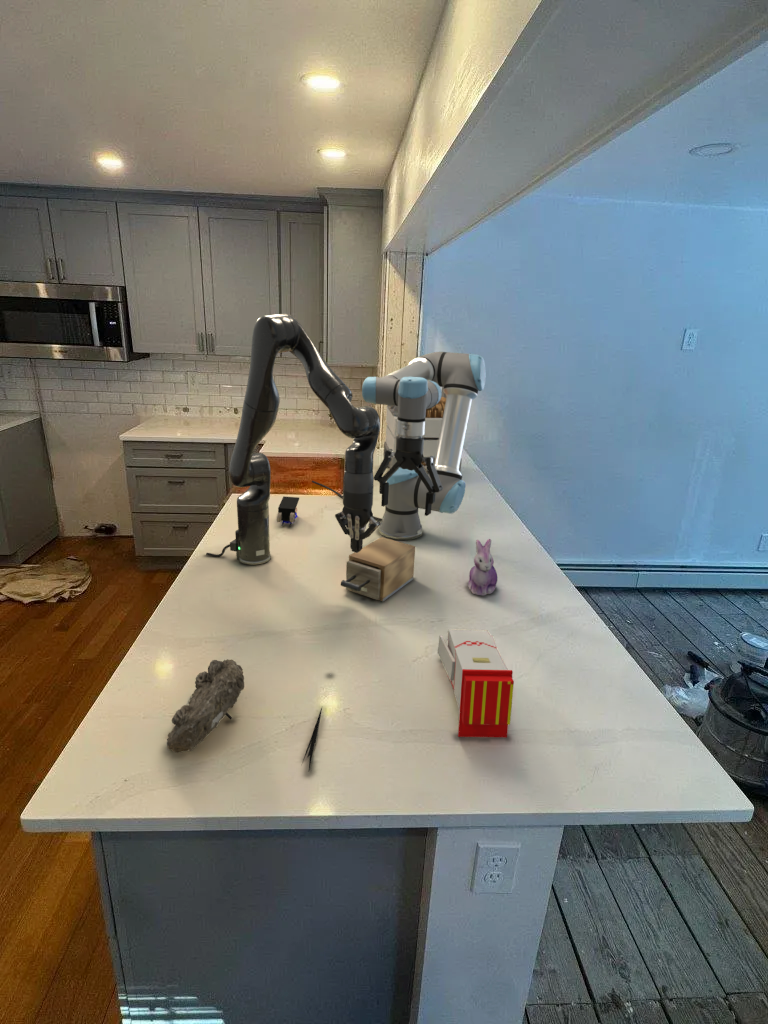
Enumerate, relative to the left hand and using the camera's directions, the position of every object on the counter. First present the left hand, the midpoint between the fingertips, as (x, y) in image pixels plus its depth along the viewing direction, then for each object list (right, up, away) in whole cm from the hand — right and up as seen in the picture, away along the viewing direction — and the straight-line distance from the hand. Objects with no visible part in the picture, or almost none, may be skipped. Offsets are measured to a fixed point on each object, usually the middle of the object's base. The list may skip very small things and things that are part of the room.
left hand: (356, 551), depth 147 cm
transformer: (+24, +29, +128) cm, 133 cm away
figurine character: (-28, +7, +59) cm, 66 cm away
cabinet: (+6, -11, +16) cm, 20 cm away
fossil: (-26, -29, -39) cm, 55 cm away
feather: (-5, -30, -39) cm, 49 cm away
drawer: (+4, -11, +11) cm, 16 cm away
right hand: (+13, +11, +13) cm, 22 cm away
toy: (+25, -27, -29) cm, 47 cm away
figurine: (+35, -12, +15) cm, 40 cm away
